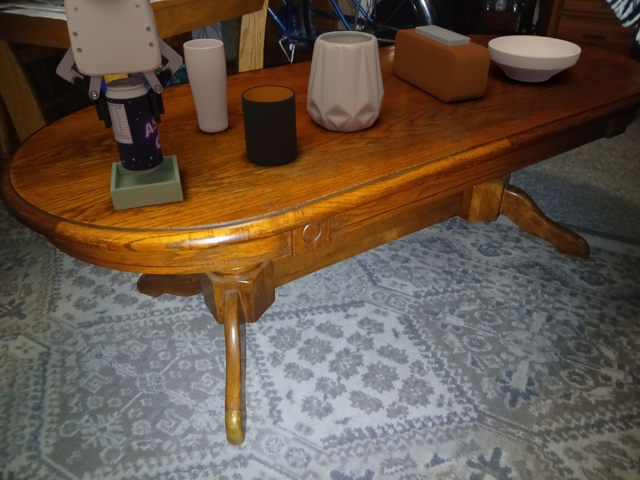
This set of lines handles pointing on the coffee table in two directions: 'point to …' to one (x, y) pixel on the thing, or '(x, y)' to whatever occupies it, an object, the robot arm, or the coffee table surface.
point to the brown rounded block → (441, 62)
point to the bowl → (532, 56)
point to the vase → (345, 81)
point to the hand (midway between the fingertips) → (133, 120)
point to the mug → (270, 124)
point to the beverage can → (134, 124)
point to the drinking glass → (208, 82)
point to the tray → (146, 185)
